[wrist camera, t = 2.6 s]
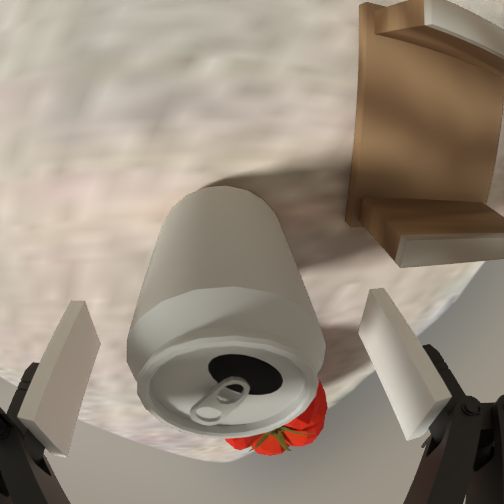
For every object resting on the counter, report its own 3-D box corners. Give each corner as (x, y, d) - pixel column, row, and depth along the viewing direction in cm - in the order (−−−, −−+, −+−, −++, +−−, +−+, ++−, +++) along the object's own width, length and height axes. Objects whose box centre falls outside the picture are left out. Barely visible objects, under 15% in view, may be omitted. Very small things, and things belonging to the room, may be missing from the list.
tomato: (326, 373, 28) (347, 439, 22) (246, 406, 30) (253, 470, 23) (285, 314, 24) (306, 395, 17) (190, 358, 25) (187, 435, 19)
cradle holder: (359, 5, 13) (421, -20, 8) (496, 53, 14) (562, 63, 9) (344, 220, 20) (389, 277, 15) (472, 220, 21) (524, 262, 16)
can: (304, 231, 20) (377, 382, 10) (227, 303, 23) (239, 461, 12) (214, 155, 17) (207, 275, 7) (140, 245, 20) (85, 404, 9)
